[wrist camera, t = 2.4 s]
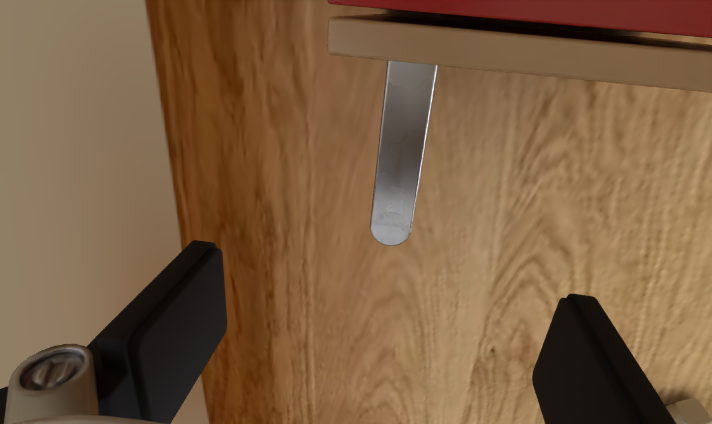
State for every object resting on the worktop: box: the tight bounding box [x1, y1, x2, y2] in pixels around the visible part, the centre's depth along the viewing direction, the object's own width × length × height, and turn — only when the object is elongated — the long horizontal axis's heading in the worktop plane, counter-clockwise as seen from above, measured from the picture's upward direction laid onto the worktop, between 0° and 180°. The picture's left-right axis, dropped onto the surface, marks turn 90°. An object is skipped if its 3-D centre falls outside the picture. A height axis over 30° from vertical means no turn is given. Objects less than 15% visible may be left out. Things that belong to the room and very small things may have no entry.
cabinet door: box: [327, 14, 712, 246], centre depth 17 cm, size 7×14×16 cm, turn 85°
